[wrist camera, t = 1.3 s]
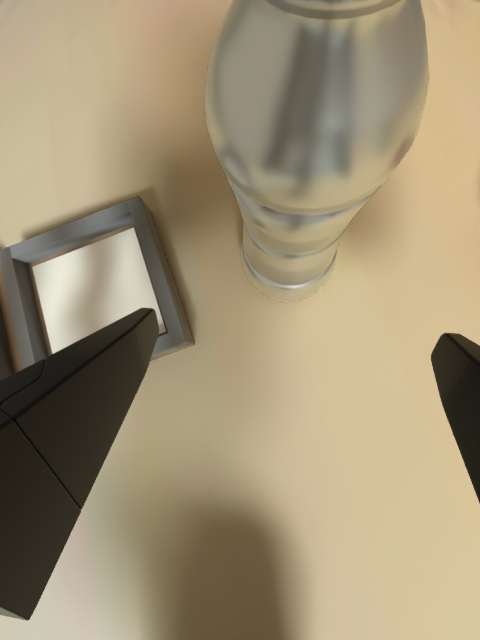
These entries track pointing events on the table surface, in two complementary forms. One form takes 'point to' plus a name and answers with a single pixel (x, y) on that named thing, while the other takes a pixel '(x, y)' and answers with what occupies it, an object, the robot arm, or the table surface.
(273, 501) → the table surface
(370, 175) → the plastic bottle
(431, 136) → the table surface
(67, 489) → the robot arm
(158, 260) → the grey flat tray
